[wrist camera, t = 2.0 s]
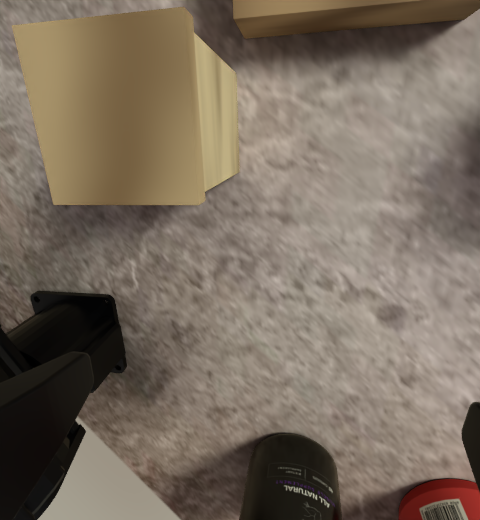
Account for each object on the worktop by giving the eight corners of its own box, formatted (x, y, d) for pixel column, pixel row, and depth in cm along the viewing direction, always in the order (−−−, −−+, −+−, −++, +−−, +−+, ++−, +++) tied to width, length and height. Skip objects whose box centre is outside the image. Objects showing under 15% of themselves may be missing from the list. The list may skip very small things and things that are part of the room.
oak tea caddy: (155, 176, 20) (53, 204, 12) (142, 75, 18) (11, 25, 10) (242, 175, 19) (198, 205, 11) (240, 68, 17) (183, 7, 9)
